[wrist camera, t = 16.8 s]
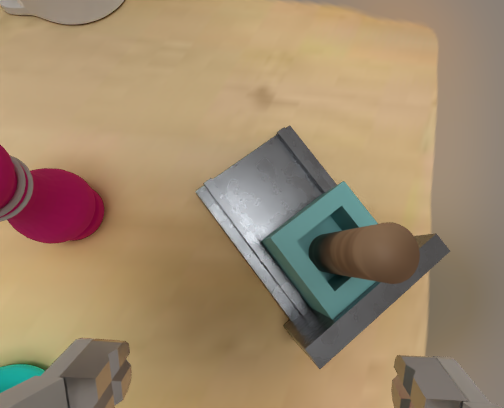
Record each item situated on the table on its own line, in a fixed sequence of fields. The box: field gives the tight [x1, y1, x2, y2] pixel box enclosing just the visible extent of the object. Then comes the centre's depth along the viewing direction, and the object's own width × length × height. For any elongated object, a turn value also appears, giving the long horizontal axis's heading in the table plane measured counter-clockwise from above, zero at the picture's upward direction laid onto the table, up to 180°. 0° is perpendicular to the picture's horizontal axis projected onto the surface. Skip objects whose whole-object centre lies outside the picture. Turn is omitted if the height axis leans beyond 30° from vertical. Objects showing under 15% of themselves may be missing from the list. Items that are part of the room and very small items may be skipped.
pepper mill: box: [0, 145, 104, 243], centre depth 24 cm, size 7×7×20 cm
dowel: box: [309, 222, 420, 284], centre depth 26 cm, size 4×4×12 cm
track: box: [196, 126, 450, 369], centre depth 32 cm, size 20×16×9 cm
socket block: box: [261, 181, 378, 320], centre depth 31 cm, size 9×9×7 cm
